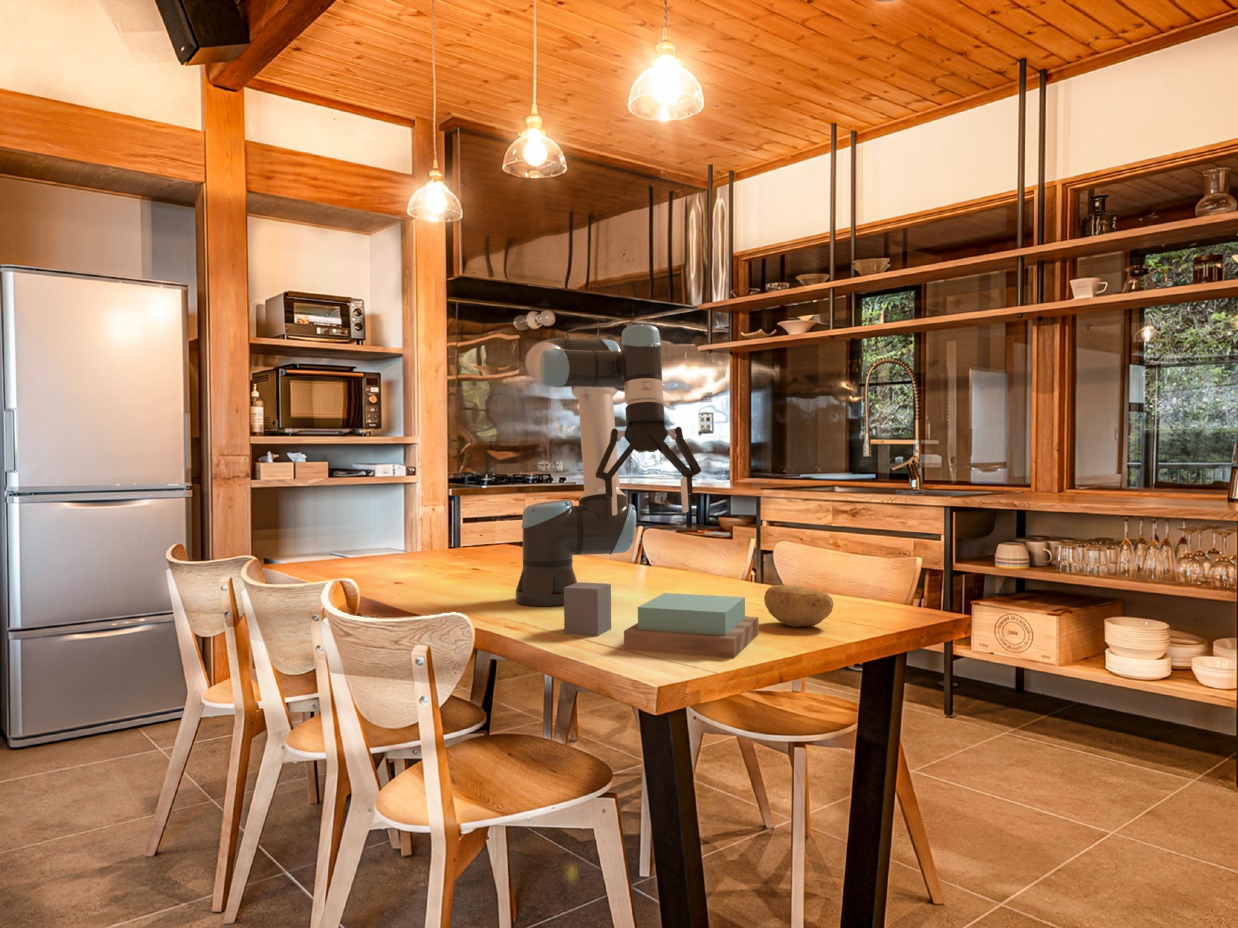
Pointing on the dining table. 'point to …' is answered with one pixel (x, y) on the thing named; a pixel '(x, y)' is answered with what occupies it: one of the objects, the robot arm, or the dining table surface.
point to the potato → (798, 605)
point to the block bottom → (693, 640)
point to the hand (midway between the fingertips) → (650, 513)
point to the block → (587, 609)
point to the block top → (692, 613)
